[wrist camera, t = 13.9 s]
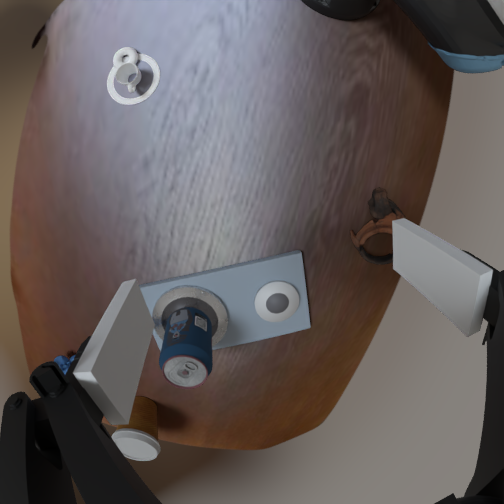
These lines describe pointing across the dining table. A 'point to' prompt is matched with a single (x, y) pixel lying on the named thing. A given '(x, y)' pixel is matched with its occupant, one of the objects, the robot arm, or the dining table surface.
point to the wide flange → (194, 299)
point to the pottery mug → (377, 224)
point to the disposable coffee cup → (139, 432)
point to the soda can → (187, 348)
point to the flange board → (249, 297)
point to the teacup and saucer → (125, 69)
